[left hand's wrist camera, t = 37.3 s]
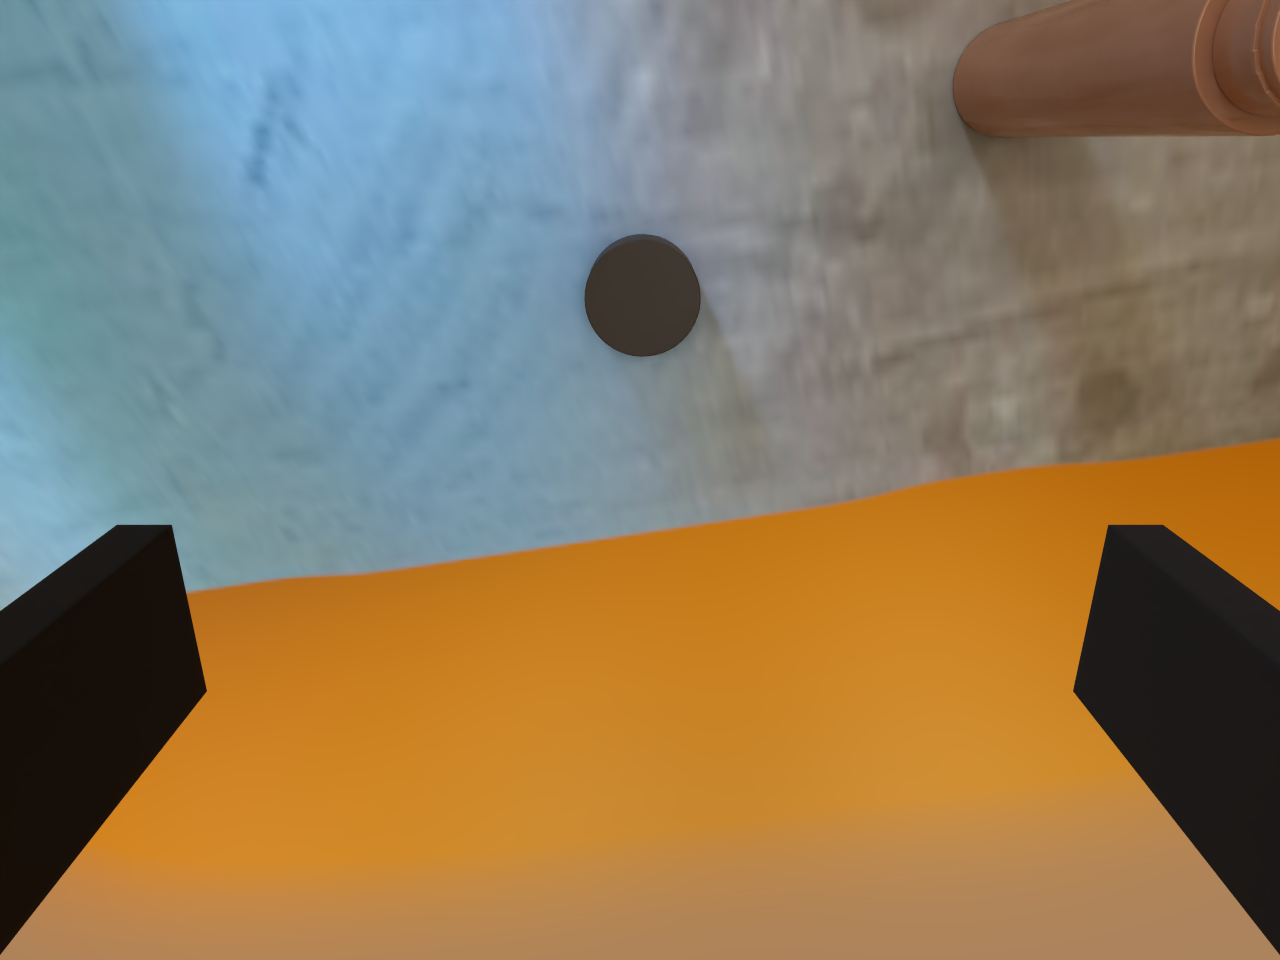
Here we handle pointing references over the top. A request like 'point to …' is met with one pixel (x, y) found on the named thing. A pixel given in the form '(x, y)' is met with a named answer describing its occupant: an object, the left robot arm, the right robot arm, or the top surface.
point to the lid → (642, 295)
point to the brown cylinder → (1126, 70)
